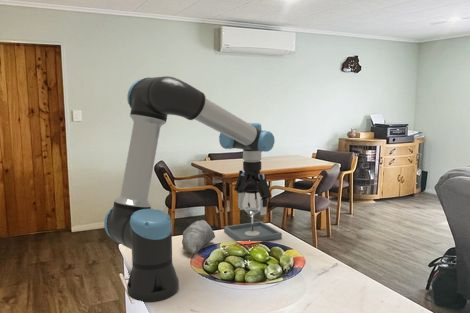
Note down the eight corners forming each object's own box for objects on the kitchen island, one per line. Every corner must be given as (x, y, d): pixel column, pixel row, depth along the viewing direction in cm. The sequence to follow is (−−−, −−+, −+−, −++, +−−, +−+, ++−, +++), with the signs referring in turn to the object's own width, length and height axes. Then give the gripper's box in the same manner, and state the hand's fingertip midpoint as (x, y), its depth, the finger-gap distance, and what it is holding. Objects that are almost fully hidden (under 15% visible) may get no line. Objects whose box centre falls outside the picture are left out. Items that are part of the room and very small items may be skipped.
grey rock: (192, 259, 140) (191, 232, 139) (170, 248, 151) (169, 223, 150) (226, 248, 151) (226, 223, 150) (203, 238, 162) (203, 215, 161)
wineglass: (247, 229, 171) (247, 189, 168) (265, 232, 167) (265, 190, 164) (239, 235, 163) (239, 193, 161) (257, 238, 160) (257, 194, 157)
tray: (242, 245, 154) (242, 239, 153) (224, 232, 170) (224, 226, 170) (281, 239, 161) (281, 233, 161) (260, 226, 177) (260, 221, 177)
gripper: (280, 163, 154) (279, 215, 157) (239, 156, 173) (239, 203, 176) (266, 165, 149) (266, 219, 152) (226, 158, 168) (226, 206, 171)
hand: (251, 211), depth 164 cm, fingers open, 13 cm apart
